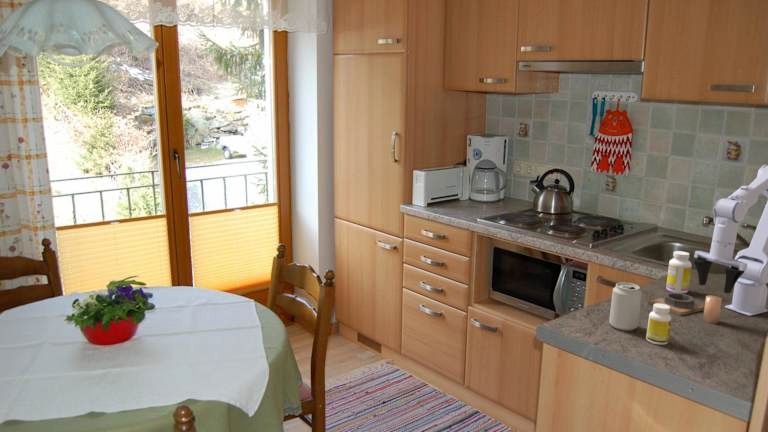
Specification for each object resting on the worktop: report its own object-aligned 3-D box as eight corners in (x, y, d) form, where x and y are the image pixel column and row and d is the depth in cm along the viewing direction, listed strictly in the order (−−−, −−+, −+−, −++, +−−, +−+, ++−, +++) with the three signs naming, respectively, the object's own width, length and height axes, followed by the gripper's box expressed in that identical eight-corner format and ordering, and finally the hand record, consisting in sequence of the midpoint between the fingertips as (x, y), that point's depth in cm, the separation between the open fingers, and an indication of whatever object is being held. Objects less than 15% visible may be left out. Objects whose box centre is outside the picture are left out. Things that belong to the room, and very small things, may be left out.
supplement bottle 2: (688, 289, 211) (693, 251, 208) (688, 295, 205) (693, 256, 202) (665, 286, 214) (670, 249, 211) (665, 292, 208) (670, 253, 205)
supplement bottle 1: (670, 346, 165) (675, 310, 163) (648, 344, 166) (652, 308, 164) (665, 338, 170) (670, 303, 168) (644, 336, 171) (648, 301, 169)
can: (634, 334, 172) (639, 291, 170) (605, 327, 176) (610, 286, 173) (639, 325, 178) (645, 284, 176) (612, 319, 182) (616, 279, 180)
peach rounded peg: (708, 317, 186) (711, 294, 185) (721, 322, 183) (724, 298, 181) (699, 319, 184) (703, 296, 183) (712, 324, 181) (716, 300, 179)
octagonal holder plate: (676, 297, 203) (677, 288, 202) (708, 309, 193) (709, 299, 193) (648, 303, 196) (649, 294, 196) (680, 315, 187) (681, 305, 186)
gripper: (691, 236, 183) (682, 282, 186) (740, 248, 171) (730, 297, 173) (706, 235, 187) (698, 280, 189) (755, 247, 174) (745, 295, 177)
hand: (714, 288), depth 181 cm, fingers open, 7 cm apart
